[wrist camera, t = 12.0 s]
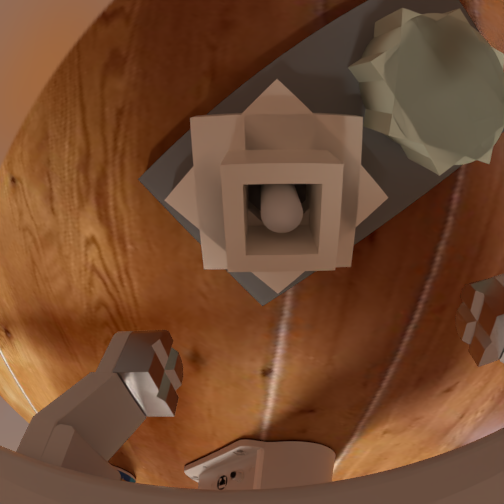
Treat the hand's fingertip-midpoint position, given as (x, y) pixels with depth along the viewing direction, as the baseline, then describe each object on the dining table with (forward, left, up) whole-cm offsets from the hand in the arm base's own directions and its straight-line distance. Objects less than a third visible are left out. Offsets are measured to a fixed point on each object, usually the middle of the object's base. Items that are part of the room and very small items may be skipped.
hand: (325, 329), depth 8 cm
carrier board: (+6, +1, -14) cm, 15 cm away
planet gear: (0, +1, -12) cm, 12 cm away
